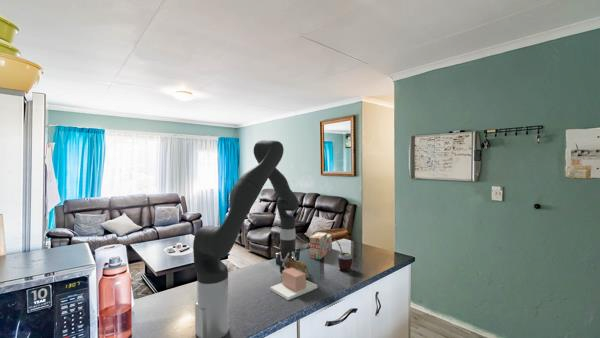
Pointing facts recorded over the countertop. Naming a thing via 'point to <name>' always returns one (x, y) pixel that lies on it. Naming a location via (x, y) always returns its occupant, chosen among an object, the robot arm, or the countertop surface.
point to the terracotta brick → (294, 279)
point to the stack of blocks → (320, 245)
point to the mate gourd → (344, 260)
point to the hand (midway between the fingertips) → (287, 271)
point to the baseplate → (291, 294)
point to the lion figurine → (296, 265)
